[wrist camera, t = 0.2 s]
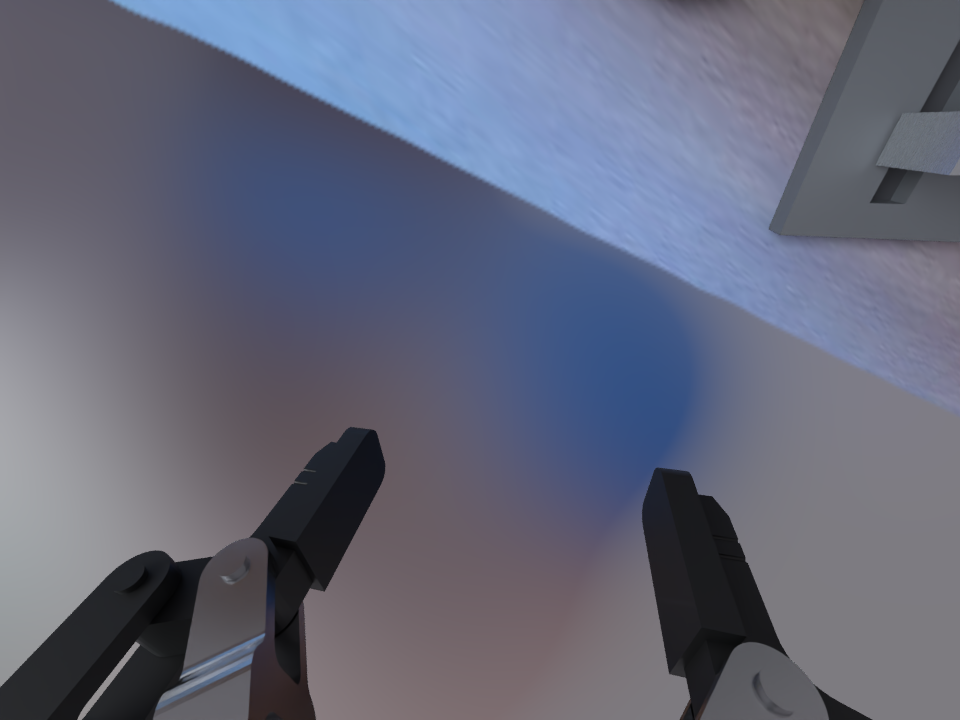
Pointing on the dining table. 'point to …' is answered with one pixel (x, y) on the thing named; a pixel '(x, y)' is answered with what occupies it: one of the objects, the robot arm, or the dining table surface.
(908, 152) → the fader tab
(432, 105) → the dining table surface
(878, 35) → the slider plate with stripes
